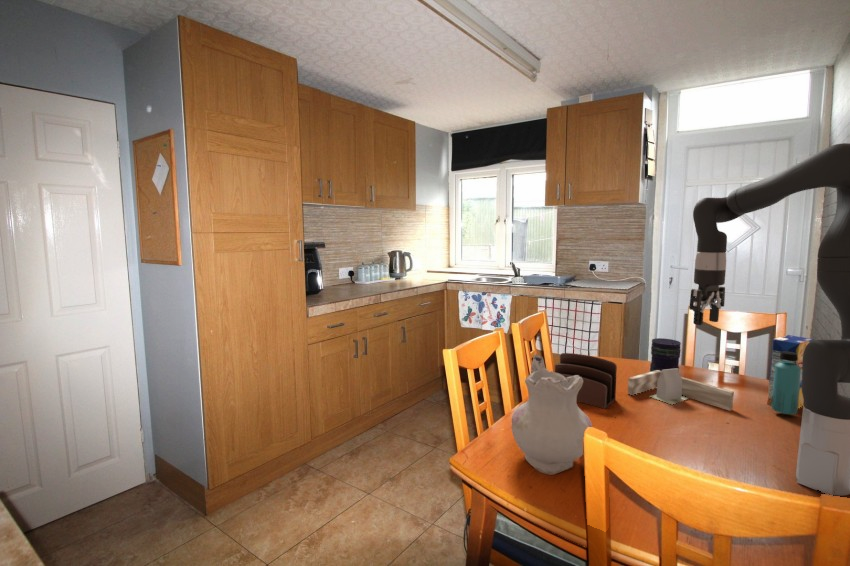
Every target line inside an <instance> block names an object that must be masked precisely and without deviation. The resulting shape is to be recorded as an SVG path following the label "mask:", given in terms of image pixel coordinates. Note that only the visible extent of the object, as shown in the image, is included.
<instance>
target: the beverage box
mask: <svg viewBox="0 0 850 566" xmlns="http://www.w3.org/2000/svg"><path fill="white" fill-rule="evenodd" d="M813 340H815V339H814V338H809V337H802V336H797V335H793V334H792V335H790V334H787V335H784V336H779V337H776V338H773V339H772V349H771V358H770V370H769V380H768V392H767V403H766V405H769V406H772V405H771V404H772V402H771V401H772V400H771V399H772V394H773V391H772V390H773V382H774V372H775V364H776V363H778V362H781V361H786V362H792V363H795V364H797V365H798V366H799V367H800V368H801V374H800V388H799V391H800V392H799V393H800V394H799V395H800V396H799V400H798V404H799V406H798V408H799V409H801V408H803V407H802V406H803V403H804V399H803V394H802V361H803V353H804V350H805V348H806V346H807V344H808V343H809V342H811V341H813ZM782 351H788V352H793V353H796V354H797V361H788V360H783V359H781V358H780V354H781V352H782ZM800 407H801V408H800Z"/></svg>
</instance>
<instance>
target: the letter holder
mask: <svg viewBox="0 0 850 566" xmlns="http://www.w3.org/2000/svg"><path fill="white" fill-rule="evenodd" d="M617 368H618V367H617V364H616V363H615V362H613V361H611V360H607V359H605V358H601V357H598V356H597V357H596V356H592V355H586V354H580V353H571V352H563V353H560V355H559V363H558V362H557V363H556V364H555V365H554V372H556V373H559V374H561V375H563V376H564V377H565V378H567V377H570V376H574V375H579V377H581V378H582V379H583V384H582V387H581V388H580V390H579V392H578V394H577V399H576V402H577V401H580V402H579V403H581V402H583V403H582V404H584V403H586V404H585V405H588V404H590V405H589V406H592V405H594V406H593V407H596V406H597V407H596V408H600V407H601V409H604V408H605V410H606V409H607V408H608V407H610V406H609V405H612V404H613V403H614V402H615V401H616V400H617V399H616V396H617V395H616V394H617V392H616V391H617V371H618V370H617Z"/></svg>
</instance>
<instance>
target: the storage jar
mask: <svg viewBox="0 0 850 566" xmlns="http://www.w3.org/2000/svg"><path fill="white" fill-rule="evenodd" d="M681 344H682V343H681V342H680V341H679V340H676V339H671V338H660V337H659V338H652V339H651V346H650V349H651V350H650V355H651V361H650V365H649V366H650V367H649V372H652V371H655V370H659V371H662V370H665V369H675V368H679V369H680V367H679V364H680V363H679V362H680V357H681V346H682V345H681Z"/></svg>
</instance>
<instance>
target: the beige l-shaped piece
mask: <svg viewBox="0 0 850 566" xmlns="http://www.w3.org/2000/svg"><path fill="white" fill-rule="evenodd" d="M660 374H661V371H659V370H655V371H652V372H650V371H649V372H645V373H640V374H638V375H634V376H630V377H628V383H627V395H628V394H630V395H629V396H631V395H633V396H635V395H634V394H636V395H638V394H637V393H640V394H642V393H641V392H643V393H645V392H644V391H646V392H648V391H647V390H649V391H651V390H650V389H652V390H654V389H653V388H656V387H657V380H658V378H659V376H660ZM681 379H682V395H683V396H682V395H681V399H673V400H666V401H665V400H663V399H660V398H658V397H656V395H657V393H656V394H655V393H654V394H653V395H649V396H648V398H650V397H652V398H651V399H653V398H654V400H656V399H657V400H656V401H659V400H660V402H662V401H663V402H662V403H664V402H666V403H665V404H667V403H669V404H668V405H670V404H671V405H670V406H673V404H674V405H676V403H677V404H679V403H682V402H685V401H687V399H688V400H690V399H691V398H692V400H694V399H695V401H698V402H701V403H703V404H708V405H710V406H713V407H717V408H719V409H723V410H726V411H729V412H730V411H733V407H734V394H735V392H734V391H732V390H731V389H730V390H728V389H726V388H722V387H719V386H715V385H711V384H708V383H704V382H701V381H697V380H694V379H691V378H686V377H683V376H681ZM656 389H657V388H656ZM685 396H686V397H685ZM688 397H689V398H688ZM684 400H685V401H684ZM681 401H682V402H681ZM678 402H679V403H678Z"/></svg>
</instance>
